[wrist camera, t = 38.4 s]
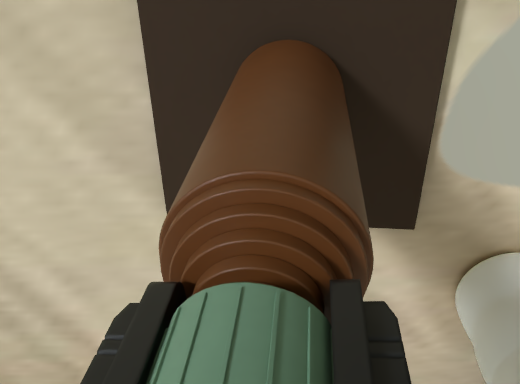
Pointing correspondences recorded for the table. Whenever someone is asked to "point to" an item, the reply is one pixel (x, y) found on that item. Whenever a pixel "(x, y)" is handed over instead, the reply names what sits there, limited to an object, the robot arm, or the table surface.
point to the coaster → (340, 52)
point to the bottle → (273, 185)
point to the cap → (245, 339)
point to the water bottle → (493, 316)
